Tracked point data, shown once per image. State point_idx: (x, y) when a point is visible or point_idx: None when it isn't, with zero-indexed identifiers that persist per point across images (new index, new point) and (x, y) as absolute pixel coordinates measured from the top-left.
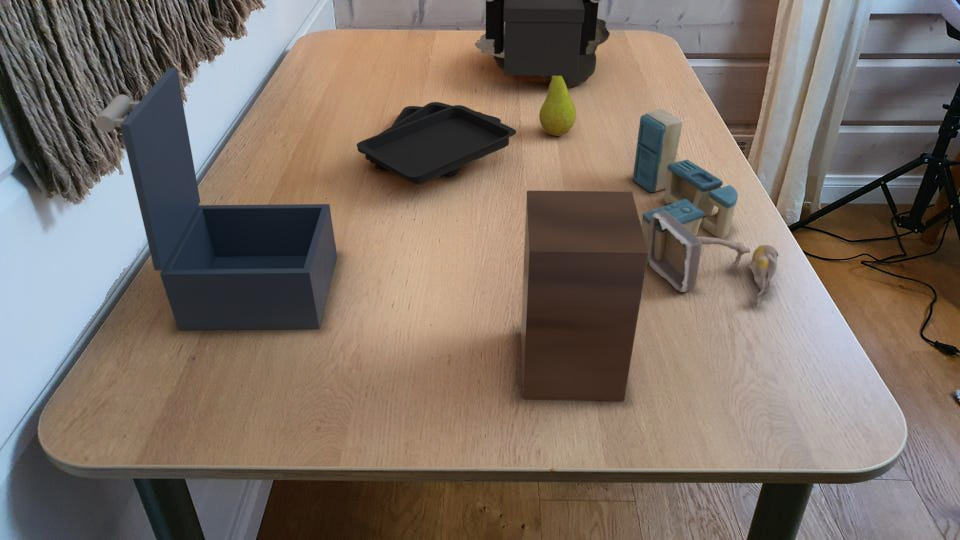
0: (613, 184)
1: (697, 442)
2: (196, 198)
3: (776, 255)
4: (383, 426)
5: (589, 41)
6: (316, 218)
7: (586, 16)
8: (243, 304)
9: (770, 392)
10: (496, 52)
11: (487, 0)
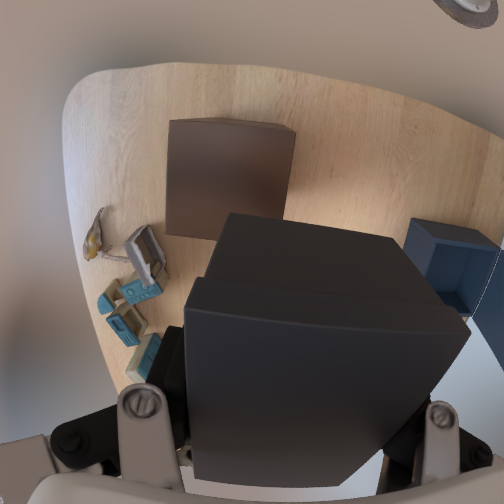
0: None
1: (172, 82)
2: (476, 317)
3: (83, 245)
4: (379, 118)
5: (185, 453)
6: None
7: (180, 355)
8: (457, 232)
9: (115, 126)
10: None
11: (440, 402)
